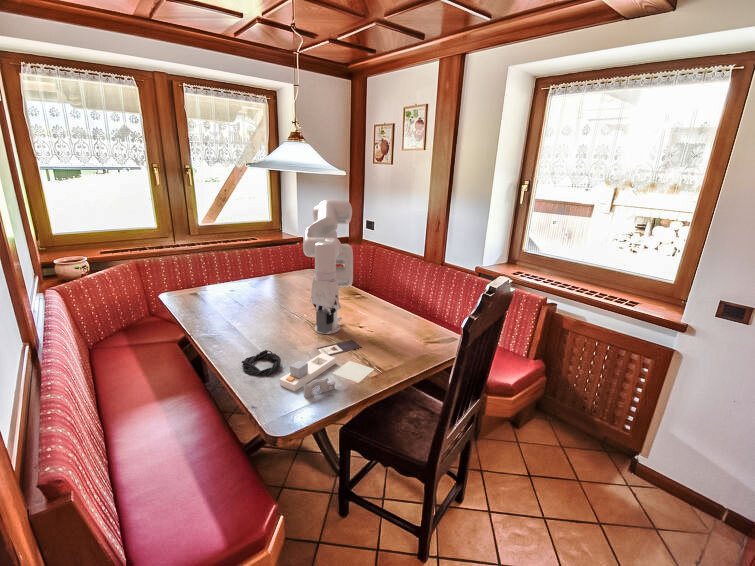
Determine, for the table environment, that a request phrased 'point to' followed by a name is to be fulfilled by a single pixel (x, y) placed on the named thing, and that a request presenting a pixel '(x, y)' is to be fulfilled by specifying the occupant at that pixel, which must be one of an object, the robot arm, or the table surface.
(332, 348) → the chocolate bar
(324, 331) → the grey rectangular block
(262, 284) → the table surface
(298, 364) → the grey plug
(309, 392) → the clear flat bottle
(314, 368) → the long white plastic board
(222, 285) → the table surface
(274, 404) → the table surface
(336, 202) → the robot arm
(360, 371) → the mat
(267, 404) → the table surface
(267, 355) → the cable
